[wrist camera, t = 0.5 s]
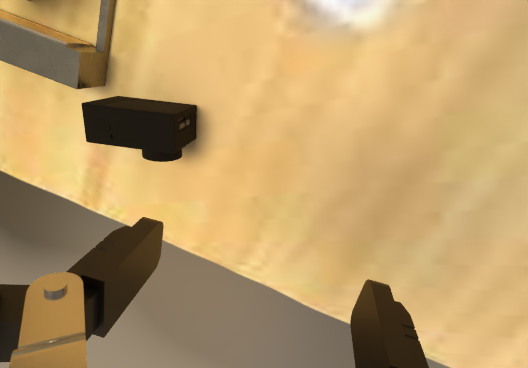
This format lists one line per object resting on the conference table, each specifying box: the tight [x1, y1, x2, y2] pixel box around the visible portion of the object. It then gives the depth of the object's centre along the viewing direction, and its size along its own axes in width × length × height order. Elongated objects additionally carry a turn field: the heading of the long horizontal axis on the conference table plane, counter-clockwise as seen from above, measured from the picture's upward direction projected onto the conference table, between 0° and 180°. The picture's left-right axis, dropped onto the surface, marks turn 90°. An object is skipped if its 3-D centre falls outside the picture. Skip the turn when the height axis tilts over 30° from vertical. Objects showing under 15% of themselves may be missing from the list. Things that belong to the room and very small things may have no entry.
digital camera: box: [82, 96, 197, 162], centre depth 37 cm, size 10×5×7 cm, turn 85°
